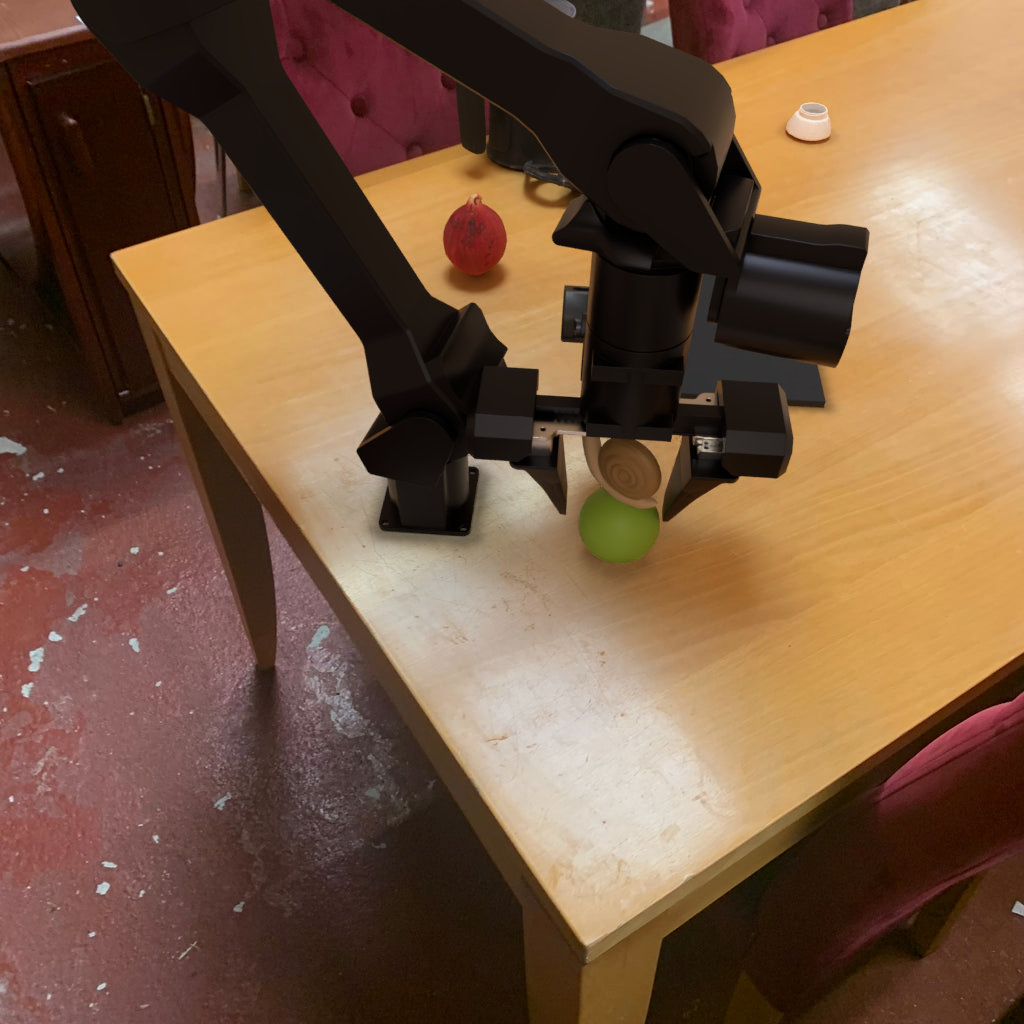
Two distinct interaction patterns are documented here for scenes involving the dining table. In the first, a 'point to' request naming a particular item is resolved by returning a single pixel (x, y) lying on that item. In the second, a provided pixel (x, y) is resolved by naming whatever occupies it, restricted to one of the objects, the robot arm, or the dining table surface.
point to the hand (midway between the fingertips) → (613, 513)
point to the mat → (742, 363)
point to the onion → (474, 237)
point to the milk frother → (507, 131)
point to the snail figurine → (620, 500)
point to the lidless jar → (810, 122)
